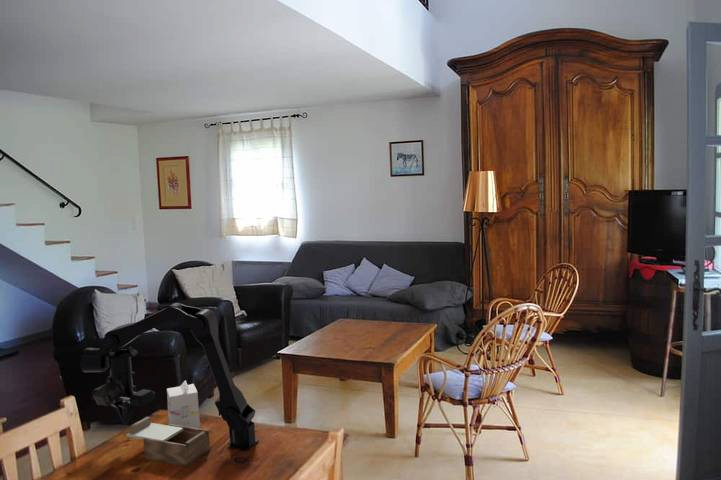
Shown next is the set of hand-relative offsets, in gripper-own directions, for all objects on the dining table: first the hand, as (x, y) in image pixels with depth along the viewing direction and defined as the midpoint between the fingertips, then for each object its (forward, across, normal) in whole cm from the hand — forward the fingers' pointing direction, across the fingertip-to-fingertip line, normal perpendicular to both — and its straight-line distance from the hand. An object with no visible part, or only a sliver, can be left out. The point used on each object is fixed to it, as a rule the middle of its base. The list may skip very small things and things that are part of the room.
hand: (125, 423), depth 167 cm
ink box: (+7, +7, +16) cm, 19 cm away
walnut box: (+6, +18, 0) cm, 19 cm away
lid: (+1, +11, 0) cm, 11 cm away
